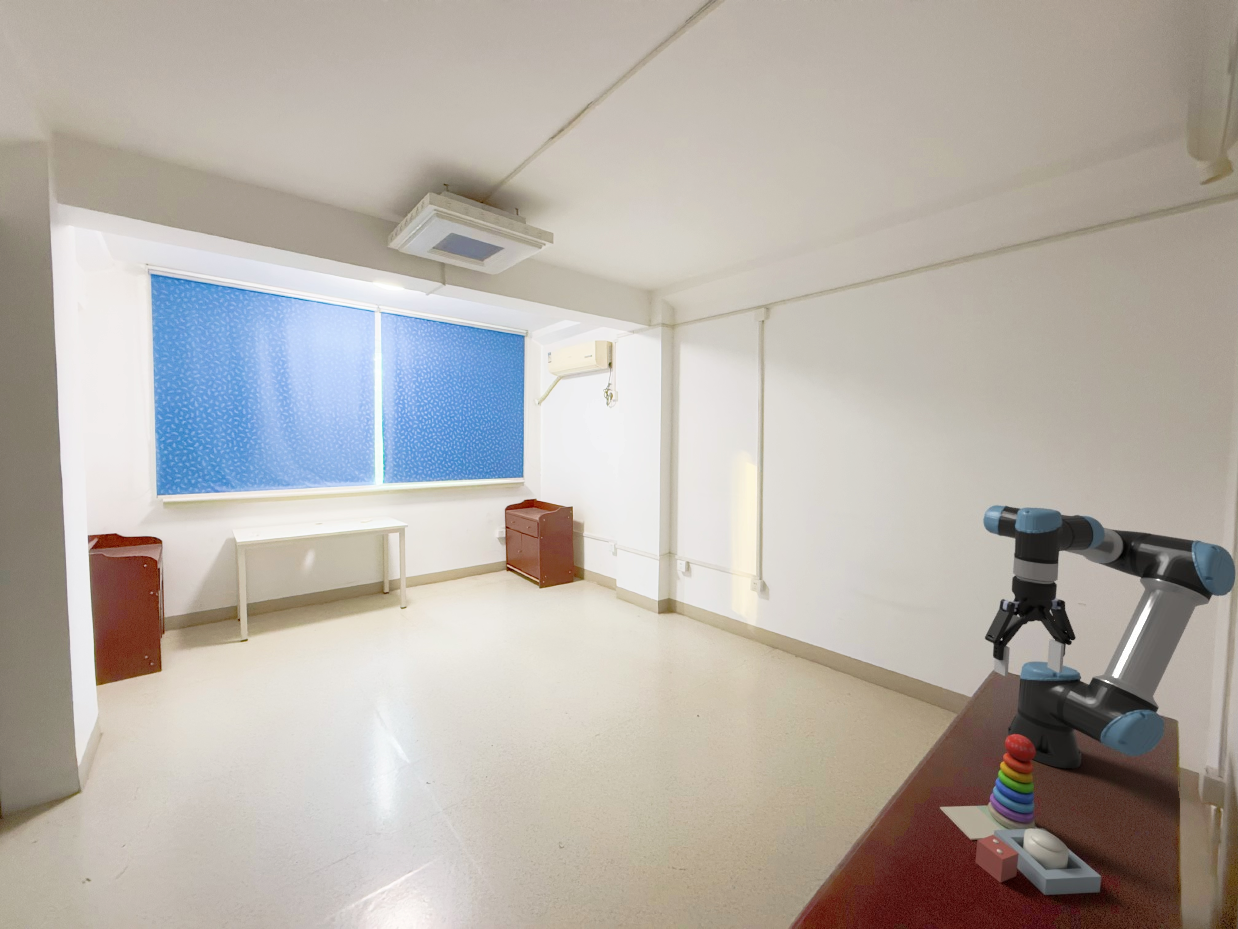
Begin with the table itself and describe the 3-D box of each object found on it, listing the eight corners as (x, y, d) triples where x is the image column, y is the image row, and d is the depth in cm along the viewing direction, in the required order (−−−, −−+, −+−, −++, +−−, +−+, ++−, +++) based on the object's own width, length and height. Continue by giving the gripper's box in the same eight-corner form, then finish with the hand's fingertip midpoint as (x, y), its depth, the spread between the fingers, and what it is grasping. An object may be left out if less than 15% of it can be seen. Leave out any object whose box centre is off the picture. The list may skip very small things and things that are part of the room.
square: (975, 807, 110) (975, 805, 110) (1009, 838, 102) (1009, 837, 102) (939, 808, 109) (940, 807, 109) (970, 840, 101) (970, 838, 101)
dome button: (1043, 847, 98) (1045, 825, 98) (1075, 875, 92) (1078, 852, 92) (1013, 848, 98) (1016, 826, 98) (1044, 877, 91) (1047, 853, 91)
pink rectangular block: (991, 856, 97) (993, 834, 97) (1016, 876, 93) (1018, 852, 92) (975, 862, 95) (977, 839, 95) (1000, 882, 91) (1002, 859, 91)
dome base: (1042, 842, 101) (1043, 828, 101) (1099, 892, 90) (1101, 876, 90) (992, 844, 100) (994, 830, 100) (1044, 895, 89) (1046, 879, 89)
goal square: (1010, 806, 111) (1010, 804, 111) (1046, 837, 102) (1046, 835, 102) (975, 807, 110) (975, 805, 110) (1009, 838, 102) (1009, 837, 102)
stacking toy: (1020, 839, 101) (1029, 751, 100) (979, 811, 108) (986, 729, 107) (1043, 829, 104) (1051, 743, 103) (1001, 802, 111) (1009, 722, 110)
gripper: (1066, 571, 114) (1059, 660, 116) (969, 575, 111) (963, 666, 113) (1102, 581, 107) (1094, 676, 108) (998, 585, 104) (992, 683, 105)
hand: (1027, 671), depth 111 cm, fingers open, 13 cm apart
